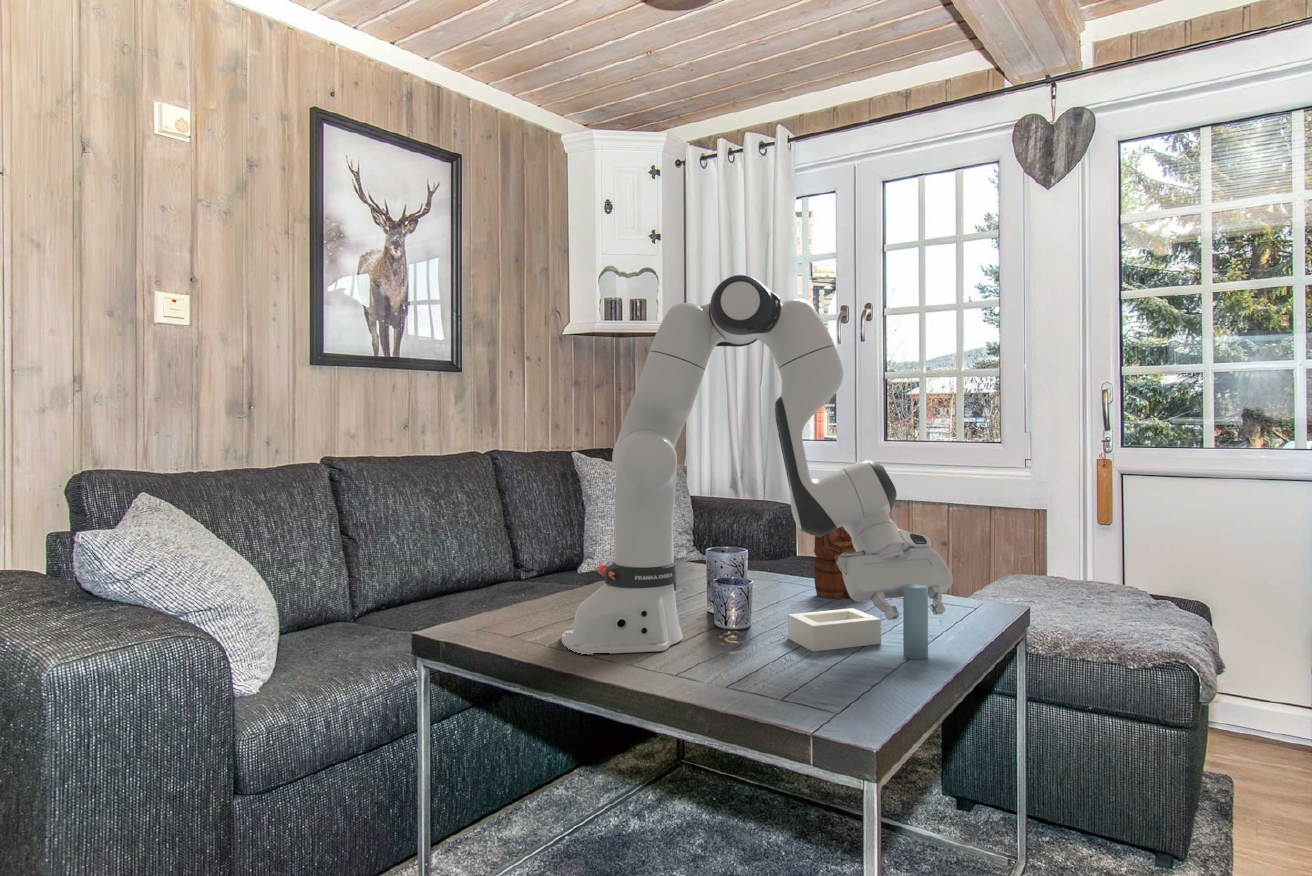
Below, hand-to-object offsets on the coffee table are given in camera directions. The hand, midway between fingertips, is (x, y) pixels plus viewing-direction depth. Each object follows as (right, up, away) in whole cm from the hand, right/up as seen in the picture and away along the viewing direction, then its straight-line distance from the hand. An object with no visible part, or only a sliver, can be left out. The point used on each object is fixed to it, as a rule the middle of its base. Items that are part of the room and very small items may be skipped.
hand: (917, 615), depth 134 cm
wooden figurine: (-2, -6, +47) cm, 48 cm away
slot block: (-12, -7, +10) cm, 17 cm away
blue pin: (0, -7, 0) cm, 7 cm away
